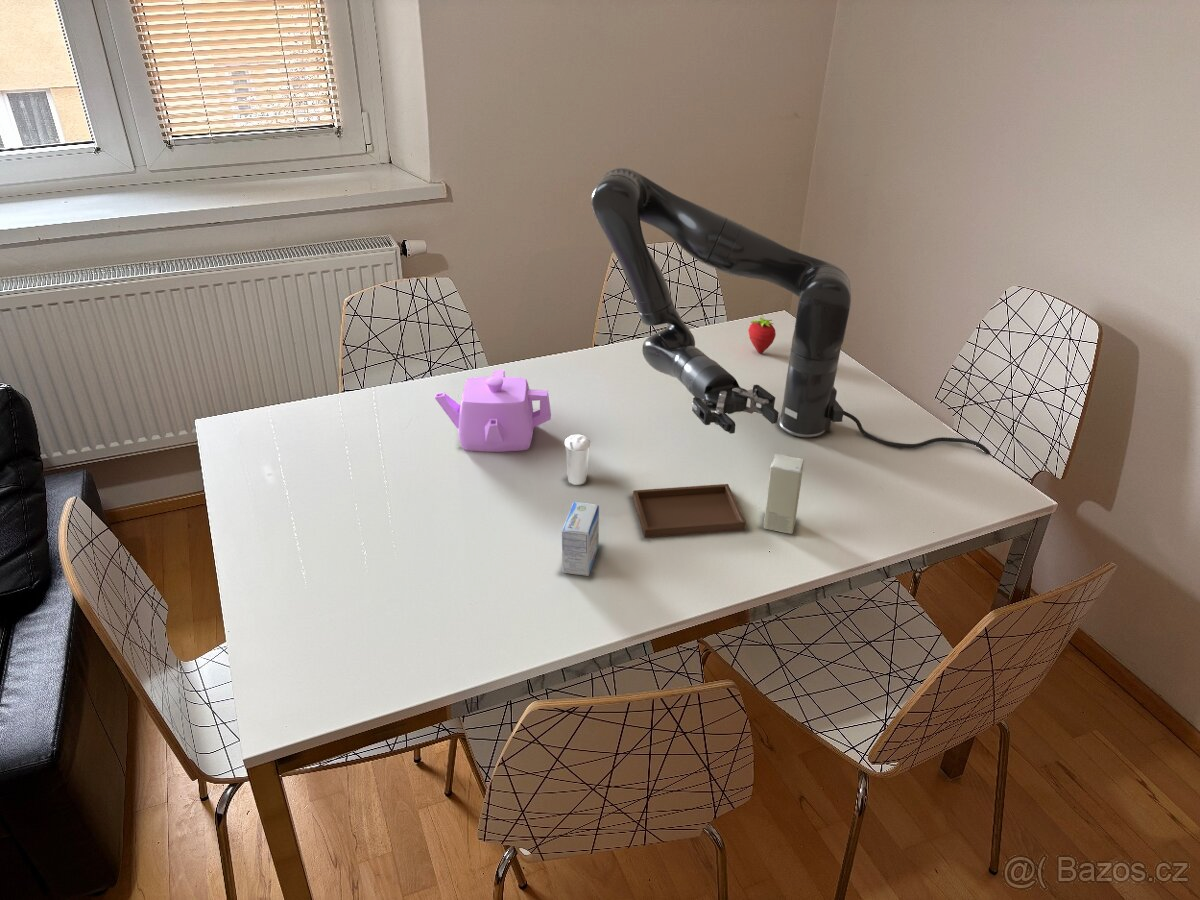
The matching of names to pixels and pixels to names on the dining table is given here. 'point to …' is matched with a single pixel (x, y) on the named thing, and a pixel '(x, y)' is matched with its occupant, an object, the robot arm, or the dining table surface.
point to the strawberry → (761, 334)
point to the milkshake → (577, 458)
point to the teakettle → (496, 413)
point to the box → (783, 493)
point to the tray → (687, 510)
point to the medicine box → (580, 538)
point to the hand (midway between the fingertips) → (755, 424)
